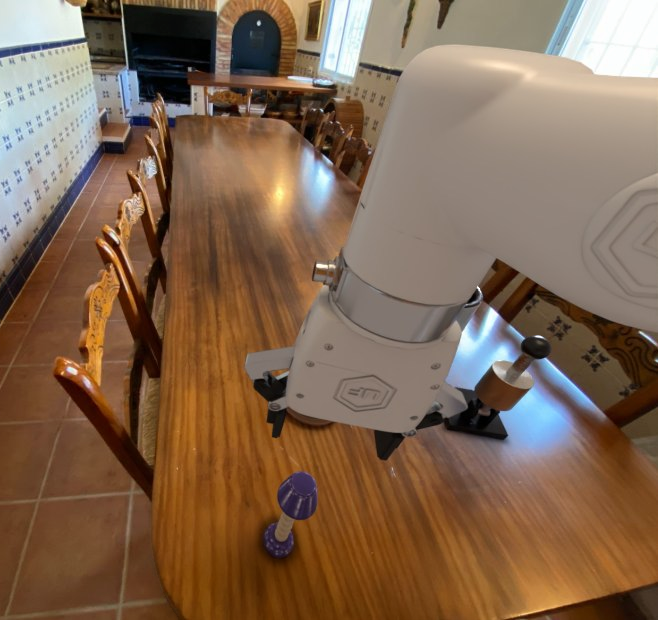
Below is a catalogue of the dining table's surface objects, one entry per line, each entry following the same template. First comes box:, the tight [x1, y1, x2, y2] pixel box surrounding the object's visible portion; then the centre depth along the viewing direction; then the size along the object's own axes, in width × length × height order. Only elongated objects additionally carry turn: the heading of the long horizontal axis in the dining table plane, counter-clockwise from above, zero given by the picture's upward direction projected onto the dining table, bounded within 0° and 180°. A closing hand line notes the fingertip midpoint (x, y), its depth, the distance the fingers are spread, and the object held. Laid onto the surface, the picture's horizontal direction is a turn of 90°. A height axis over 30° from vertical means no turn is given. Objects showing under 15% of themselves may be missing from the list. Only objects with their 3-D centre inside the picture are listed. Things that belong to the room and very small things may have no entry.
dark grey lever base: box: [443, 386, 509, 441], centre depth 66 cm, size 10×10×7 cm
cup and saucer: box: [287, 407, 335, 427], centre depth 66 cm, size 12×12×6 cm
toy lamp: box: [262, 470, 318, 559], centre depth 44 cm, size 5×5×17 cm
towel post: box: [473, 335, 553, 416], centre depth 59 cm, size 6×6×19 cm
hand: (327, 434), depth 34 cm, fingers open, 9 cm apart
